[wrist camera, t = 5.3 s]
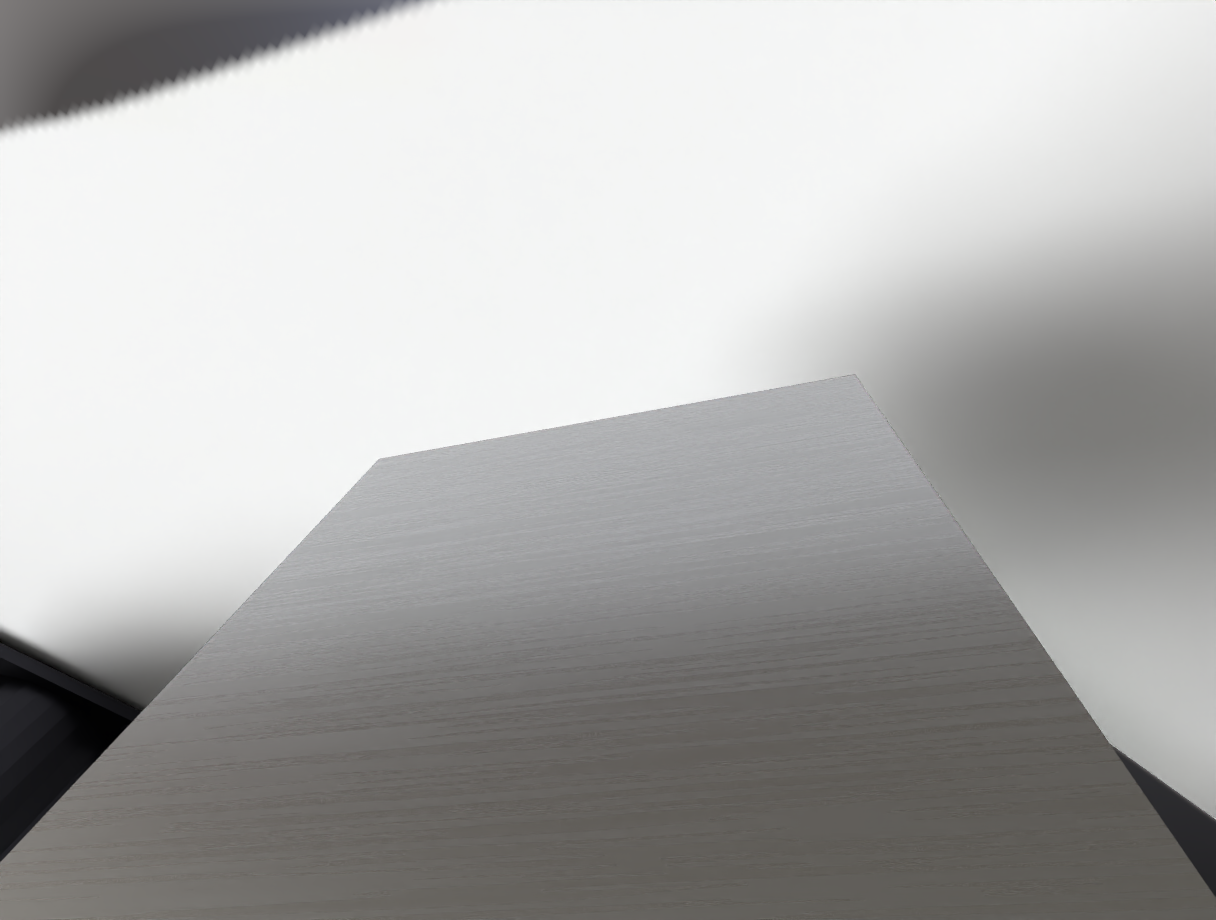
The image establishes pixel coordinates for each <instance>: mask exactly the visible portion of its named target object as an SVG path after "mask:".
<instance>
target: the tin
mask: <svg viewBox="0 0 1216 920" xmlns="http://www.w3.org/2000/svg"><path fill="white" fill-rule="evenodd" d="M0 920H1216V897H1215V896H1214V894H1213V893H1212V892H1211V890H1210V889H1209V887H1208V886H1207V884H1206V883H1205V881H1204V880H1203V879H1202V877H1201V876H1200V874H1199V873H1198V871H1197V870H1196V868H1195V867H1194V865H1193V864H1192V863H1191V861H1190V860H1189V858H1188V857H1187V855H1186V854H1185V852H1184V851H1183V849H1182V848H1181V847H1180V845H1179V844H1178V842H1177V841H1176V839H1175V838H1174V836H1173V835H1172V834H1171V832H1170V831H1169V829H1168V828H1167V826H1166V825H1165V823H1164V822H1163V820H1162V819H1161V818H1160V816H1159V815H1158V813H1157V812H1156V810H1155V809H1154V807H1153V806H1152V804H1151V803H1150V802H1149V800H1148V799H1147V797H1146V796H1145V794H1144V793H1143V791H1142V790H1141V789H1140V787H1139V786H1138V784H1137V783H1136V781H1135V780H1134V778H1133V777H1132V775H1131V774H1130V773H1129V771H1128V770H1127V768H1126V767H1125V765H1124V764H1123V762H1122V761H1121V759H1120V758H1119V757H1118V755H1117V754H1116V752H1115V751H1114V749H1113V748H1112V746H1111V745H1110V744H1109V742H1108V741H1107V739H1106V738H1105V736H1104V735H1103V733H1102V732H1101V730H1100V729H1099V728H1098V726H1097V725H1096V723H1095V722H1094V720H1093V719H1092V717H1091V716H1090V714H1089V713H1088V712H1087V710H1086V709H1085V707H1084V706H1083V704H1082V703H1081V701H1080V700H1079V699H1078V697H1077V696H1076V694H1075V693H1074V691H1073V690H1072V688H1071V687H1070V685H1069V684H1068V683H1067V681H1066V680H1065V678H1064V677H1063V675H1062V674H1061V672H1060V671H1059V669H1058V668H1057V667H1056V665H1055V664H1054V662H1053V661H1052V659H1051V658H1050V656H1049V655H1048V654H1047V652H1046V651H1045V649H1044V648H1043V646H1042V645H1041V643H1040V642H1039V640H1038V639H1037V638H1036V636H1035V635H1034V633H1033V632H1032V630H1031V629H1030V627H1029V626H1028V624H1027V623H1026V622H1025V620H1024V619H1023V617H1022V616H1021V614H1020V613H1019V611H1018V610H1017V609H1016V607H1015V606H1014V604H1013V603H1012V601H1011V600H1010V598H1009V597H1008V595H1007V594H1006V593H1005V591H1004V590H1003V588H1002V587H1001V585H1000V584H999V582H998V581H997V580H996V578H995V577H994V575H993V574H992V572H991V571H990V569H989V568H988V566H987V565H986V564H985V562H984V561H983V559H982V558H981V556H980V555H979V553H978V552H977V550H976V549H975V548H974V546H973V545H972V543H971V542H970V540H969V539H968V537H967V536H966V535H965V533H964V532H963V530H962V529H961V527H960V526H959V524H958V523H957V521H956V520H955V519H954V517H953V516H952V514H951V513H950V511H949V510H948V508H947V507H946V505H945V504H944V503H943V501H942V500H941V498H940V497H939V495H938V494H937V492H936V491H935V490H934V488H933V487H932V485H931V484H930V482H929V481H928V479H927V478H926V476H925V475H924V474H923V472H922V471H921V469H920V468H919V466H918V465H917V463H916V462H915V460H914V459H913V458H912V456H911V455H910V453H909V452H908V450H907V449H906V447H905V446H904V445H903V443H902V442H901V440H900V439H899V437H898V436H897V434H896V433H895V431H894V430H893V429H892V427H891V426H890V424H889V423H888V421H887V420H886V418H885V417H884V415H883V414H882V413H881V411H880V410H879V408H878V407H877V405H876V404H875V402H874V401H873V400H872V398H871V397H870V395H869V394H868V392H867V391H866V389H865V388H864V386H863V385H862V384H861V382H860V381H859V379H858V378H857V376H856V375H855V374H854V375H849V376H843V377H838V378H832V379H826V380H821V381H815V382H809V383H804V384H798V385H793V386H787V387H781V388H776V389H770V390H764V391H759V392H753V393H748V394H742V395H736V396H731V397H725V398H719V399H714V400H708V401H703V402H697V403H691V404H686V405H680V406H674V407H669V408H663V409H658V410H652V411H646V412H641V413H635V414H629V415H624V416H618V417H613V418H607V419H601V420H596V421H590V422H584V423H579V424H573V425H568V426H562V427H556V428H551V429H545V430H539V431H534V432H528V433H523V434H517V435H511V436H506V437H500V438H494V439H489V440H483V441H478V442H472V443H466V444H461V445H455V446H449V447H444V448H438V449H433V450H427V451H421V452H416V453H410V454H404V455H399V456H393V457H388V458H382V459H379V460H378V461H377V462H376V463H375V464H374V465H373V466H372V467H371V468H370V469H369V470H368V471H367V472H366V474H365V475H364V476H363V477H362V478H361V479H360V480H359V481H358V482H357V483H356V484H355V485H354V486H353V487H352V488H351V490H350V491H349V492H348V493H347V494H346V495H345V496H344V497H343V498H342V499H341V500H340V501H339V502H338V503H337V504H336V505H335V507H334V508H333V509H332V510H331V511H330V512H329V513H328V514H327V515H326V516H325V517H324V518H323V519H322V520H321V521H320V523H319V524H318V525H317V526H316V527H315V528H314V529H313V530H312V531H311V532H310V533H309V534H308V535H307V536H306V537H305V538H304V540H303V541H302V542H301V543H300V544H299V545H298V546H297V547H296V548H295V549H294V550H293V551H292V552H291V553H290V554H289V556H288V557H287V558H286V559H285V560H284V561H283V562H282V563H281V564H280V565H279V566H278V567H277V568H276V569H275V570H274V571H273V573H272V574H271V575H270V576H269V577H268V578H267V579H266V580H265V581H264V582H263V583H262V584H261V585H260V586H259V587H258V589H257V590H256V591H255V592H254V593H253V594H252V595H251V596H250V597H249V598H248V599H247V600H246V601H245V602H244V603H243V604H242V606H241V607H240V608H239V609H238V610H237V611H236V612H235V613H234V614H233V615H232V616H231V617H230V618H229V619H228V620H227V622H226V623H225V624H224V625H223V626H222V627H221V628H220V629H219V630H218V631H217V632H216V633H215V634H214V635H213V636H212V638H211V639H210V640H209V641H208V642H207V643H206V644H205V645H204V646H203V647H202V648H201V649H200V650H199V651H198V652H197V653H196V655H195V656H194V657H193V658H192V659H191V660H190V661H189V662H188V663H187V664H186V665H185V666H184V667H183V668H182V669H181V671H180V672H179V673H178V674H177V675H176V676H175V677H174V678H173V679H172V680H171V681H170V682H169V683H168V684H167V685H166V686H165V688H164V689H163V690H162V691H161V692H160V693H159V694H158V695H157V696H156V697H155V698H154V699H153V700H152V701H151V702H150V704H149V705H148V706H147V707H146V708H145V709H144V710H143V711H142V712H141V713H140V714H139V715H138V716H137V717H136V718H135V719H134V721H133V722H132V723H131V724H130V725H129V726H128V727H127V728H126V729H125V730H124V731H123V732H122V733H121V734H120V735H119V737H118V738H117V739H116V740H115V741H114V742H113V743H112V744H111V745H110V746H109V747H108V748H107V749H106V750H105V751H104V752H103V754H102V755H101V756H100V757H99V758H98V759H97V760H96V761H95V762H94V763H93V764H92V765H91V766H90V767H89V768H88V770H87V771H86V772H85V773H84V774H83V775H82V776H81V777H80V778H79V779H78V780H77V781H76V782H75V783H74V784H73V785H72V787H71V788H70V789H69V790H68V791H67V792H66V793H65V794H64V795H63V796H62V797H61V798H60V799H59V800H58V801H57V803H56V804H55V805H54V806H53V807H52V808H51V809H50V810H49V811H48V812H47V813H46V814H45V815H44V816H43V817H42V818H41V820H40V821H39V822H38V823H37V824H36V825H35V826H34V827H33V828H32V829H31V830H30V831H29V832H28V833H27V834H26V836H25V837H24V838H23V839H22V840H21V841H20V842H19V843H18V844H17V845H16V846H15V847H14V848H13V849H12V850H11V851H10V853H9V854H8V855H7V856H6V857H5V858H4V859H3V860H2V861H1V862H0Z"/></svg>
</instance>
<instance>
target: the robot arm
mask: <svg viewBox="0 0 1216 920" xmlns="http://www.w3.org/2000/svg"><path fill="white" fill-rule="evenodd" d="M140 713H141V711H139V710H137V709H135V708H133V707H131V706H129V705H126V704H124V703H122V702H120V701H118V700H116V699H114V698H112V697H110V696H108V695H106V694H104V693H102V692H100V691H98V690H96V689H94V688H92V687H90V686H88V685H86V684H84V683H81V682H79V681H77V680H75V679H73V678H71V677H69V676H67V675H65V674H63V673H61V672H59V671H57V670H55V669H53V668H51V667H49V666H47V665H45V664H43V663H41V662H39V661H36V660H34V659H32V658H30V657H28V656H26V655H24V654H22V653H20V652H18V651H16V650H14V649H12V648H10V647H8V646H6V645H4V644H2V643H0V862H1V861H2V860H3V859H4V858H5V857H6V856H7V855H8V854H9V853H10V851H11V850H12V849H13V848H14V847H15V846H16V845H17V844H18V843H19V842H20V841H21V840H22V839H23V838H24V837H25V836H26V834H27V833H28V832H29V831H30V830H31V829H32V828H33V827H34V826H35V825H36V824H37V823H38V822H39V821H40V820H41V818H42V817H43V816H44V815H45V814H46V813H47V812H48V811H49V810H50V809H51V808H52V807H53V806H54V805H55V804H56V803H57V801H58V800H59V799H60V798H61V797H62V796H63V795H64V794H65V793H66V792H67V791H68V790H69V789H70V788H71V787H72V785H73V784H74V783H75V782H76V781H77V780H78V779H79V778H80V777H81V776H82V775H83V774H84V773H85V772H86V771H87V770H88V768H89V767H90V766H91V765H92V764H93V763H94V762H95V761H96V760H97V759H98V758H99V757H100V756H101V755H102V754H103V752H104V751H105V750H106V749H107V748H108V747H109V746H110V745H111V744H112V743H113V742H114V741H115V740H116V739H117V738H118V737H119V735H120V734H121V733H122V732H123V731H124V730H125V729H126V728H127V727H128V726H129V725H130V724H131V723H132V722H133V721H134V719H135V718H136V717H137V716H138V715H139V714H140ZM1110 745H1111V744H1110ZM1111 746H1112V745H1111ZM1112 748H1113V749H1114V751H1115V752H1116V754H1117V755H1118V757H1119V758H1120V759H1121V761H1122V762H1123V764H1124V765H1125V767H1126V768H1127V770H1128V771H1129V773H1130V774H1131V775H1132V777H1133V778H1134V780H1135V781H1136V783H1137V784H1138V786H1139V787H1140V789H1141V790H1142V791H1143V793H1144V794H1145V796H1146V797H1147V799H1148V800H1149V802H1150V803H1151V804H1152V806H1153V807H1154V809H1155V810H1156V812H1157V813H1158V815H1159V816H1160V818H1161V819H1162V820H1163V822H1164V823H1165V825H1166V826H1167V828H1168V829H1169V831H1170V832H1171V834H1172V835H1173V836H1174V838H1175V839H1176V841H1177V842H1178V844H1179V845H1180V847H1181V848H1182V849H1183V851H1184V852H1185V854H1186V855H1187V857H1188V858H1189V860H1190V861H1191V863H1192V864H1193V865H1194V867H1195V868H1196V870H1197V871H1198V873H1199V874H1200V876H1201V877H1202V879H1203V880H1204V881H1205V883H1206V884H1207V886H1208V887H1209V889H1210V890H1211V892H1212V893H1213V894H1214V896H1215V897H1216V820H1215V819H1214V818H1212V817H1211V816H1210V815H1208V814H1207V813H1205V812H1204V811H1203V810H1201V809H1200V808H1199V807H1197V806H1196V805H1194V804H1193V803H1192V802H1190V801H1189V800H1187V799H1186V798H1185V797H1183V796H1182V795H1180V794H1179V793H1178V792H1176V791H1175V790H1173V789H1172V788H1171V787H1169V786H1168V785H1166V784H1165V783H1164V782H1162V781H1161V780H1159V779H1158V778H1157V777H1155V776H1154V775H1153V774H1151V773H1150V772H1148V771H1147V770H1146V769H1144V768H1143V767H1141V766H1140V765H1139V764H1137V763H1136V762H1134V761H1133V760H1132V759H1130V758H1129V757H1127V756H1126V755H1125V754H1123V753H1122V752H1120V751H1119V750H1118V749H1116V748H1115V747H1113V746H1112Z"/></svg>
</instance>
